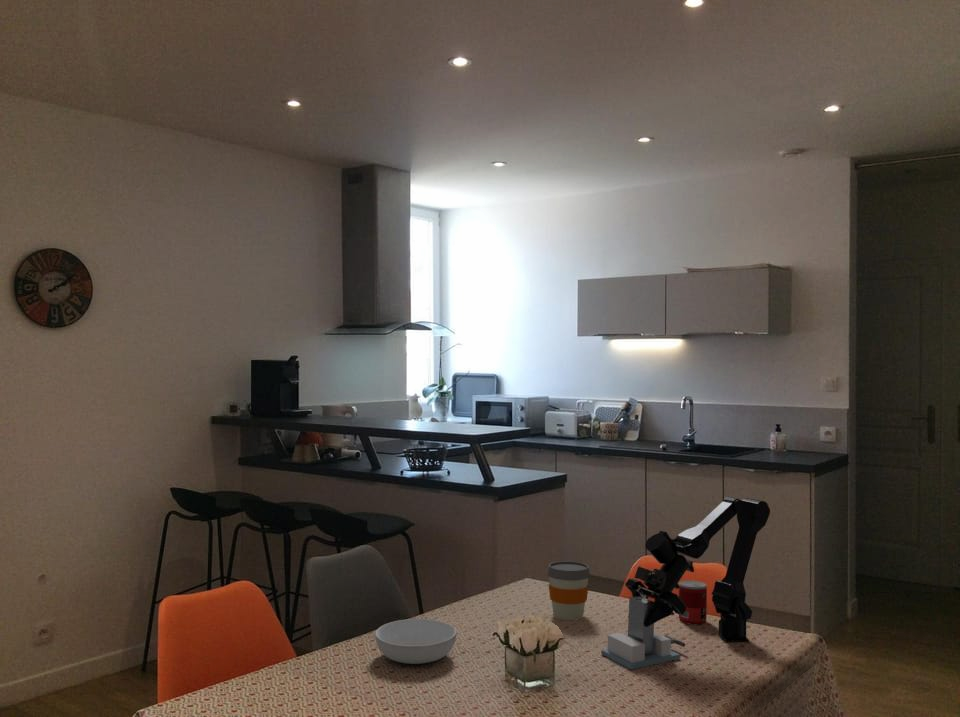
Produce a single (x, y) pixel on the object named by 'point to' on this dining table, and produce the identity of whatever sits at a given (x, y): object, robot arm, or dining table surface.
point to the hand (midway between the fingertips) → (637, 622)
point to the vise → (640, 650)
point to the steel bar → (641, 622)
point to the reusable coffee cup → (568, 589)
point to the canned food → (693, 601)
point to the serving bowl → (415, 640)
